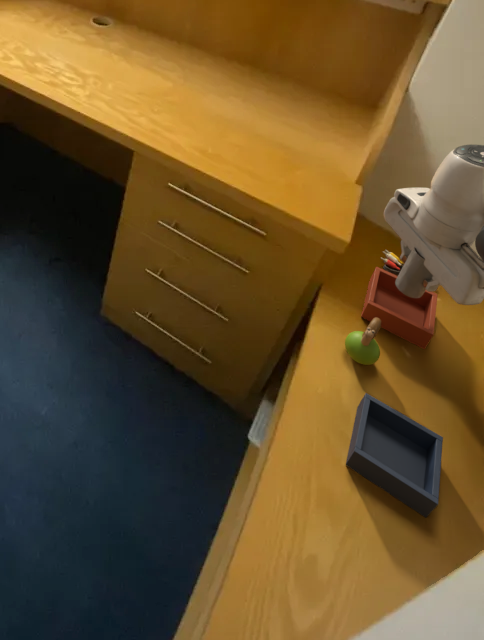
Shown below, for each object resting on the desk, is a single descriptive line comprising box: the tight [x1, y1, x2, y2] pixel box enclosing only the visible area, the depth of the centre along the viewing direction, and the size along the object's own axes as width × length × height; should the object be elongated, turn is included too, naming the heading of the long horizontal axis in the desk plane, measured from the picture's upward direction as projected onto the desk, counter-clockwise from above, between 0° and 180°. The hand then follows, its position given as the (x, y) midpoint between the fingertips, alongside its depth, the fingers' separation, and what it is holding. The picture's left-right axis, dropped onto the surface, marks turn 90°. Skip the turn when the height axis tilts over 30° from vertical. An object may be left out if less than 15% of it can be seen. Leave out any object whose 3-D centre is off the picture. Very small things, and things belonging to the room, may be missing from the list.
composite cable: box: [380, 249, 405, 275], centre depth 109 cm, size 10×5×2 cm, turn 42°
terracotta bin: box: [360, 266, 439, 350], centre depth 101 cm, size 11×11×5 cm
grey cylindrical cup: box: [395, 247, 433, 298], centre depth 96 cm, size 4×4×10 cm
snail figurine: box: [344, 317, 381, 366], centre depth 91 cm, size 5×6×12 cm
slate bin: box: [345, 392, 444, 519], centre depth 79 cm, size 11×11×5 cm
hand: (416, 274), depth 96 cm, fingers closed on grey cylindrical cup, 4 cm apart
